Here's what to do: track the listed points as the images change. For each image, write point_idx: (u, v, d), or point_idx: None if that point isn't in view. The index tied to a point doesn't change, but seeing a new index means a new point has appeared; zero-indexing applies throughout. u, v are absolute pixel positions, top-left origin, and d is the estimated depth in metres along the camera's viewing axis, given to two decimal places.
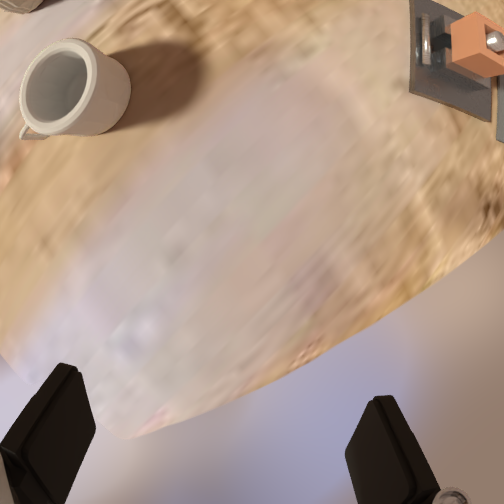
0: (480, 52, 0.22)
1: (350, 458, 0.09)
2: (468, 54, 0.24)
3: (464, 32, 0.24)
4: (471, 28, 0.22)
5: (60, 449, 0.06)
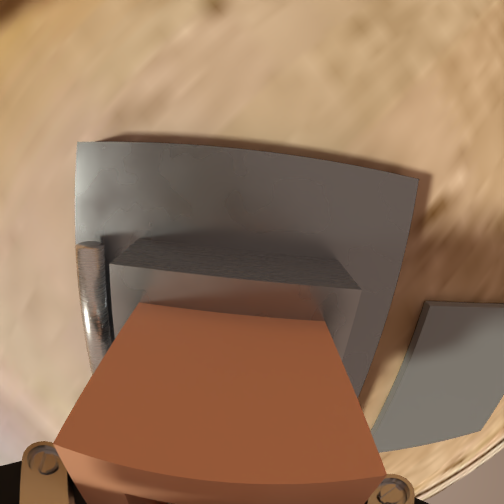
0: None
1: None
2: None
3: None
4: None
5: None
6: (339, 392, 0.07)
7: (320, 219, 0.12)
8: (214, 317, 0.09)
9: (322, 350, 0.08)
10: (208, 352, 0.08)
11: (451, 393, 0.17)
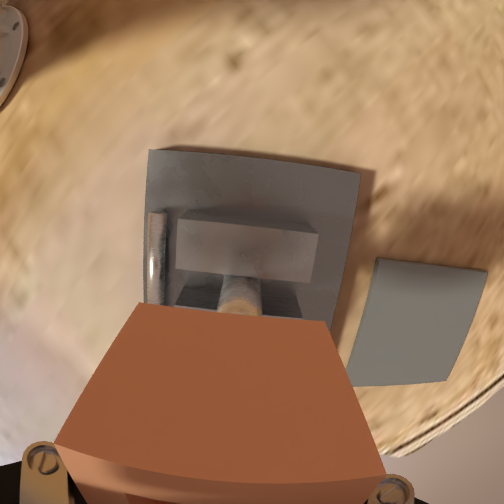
0: None
1: None
2: None
3: None
4: None
5: None
6: (340, 392, 0.07)
7: (298, 198, 0.20)
8: (214, 317, 0.10)
9: (322, 350, 0.08)
10: (208, 352, 0.08)
11: (410, 337, 0.25)
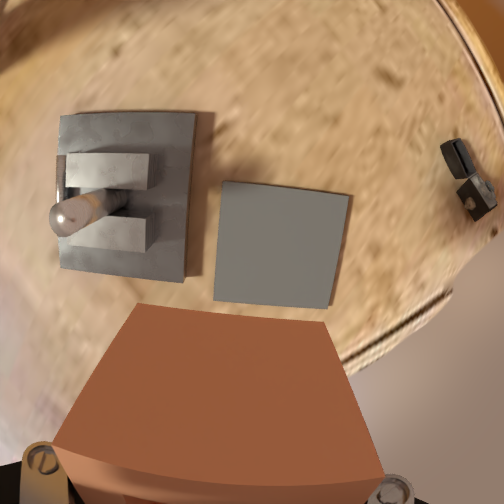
0: None
1: None
2: None
3: None
4: None
5: None
6: (338, 394, 0.07)
7: (149, 136, 0.26)
8: (213, 318, 0.09)
9: (321, 351, 0.08)
10: (206, 353, 0.08)
11: (268, 254, 0.31)
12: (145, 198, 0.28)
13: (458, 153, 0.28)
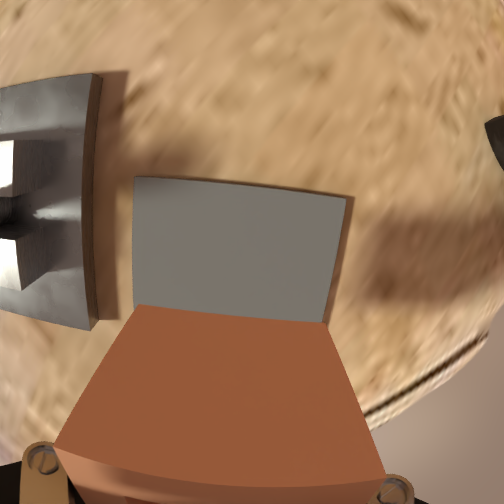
0: None
1: None
2: None
3: None
4: None
5: None
6: (340, 395, 0.07)
7: (34, 116, 0.14)
8: (214, 319, 0.09)
9: (322, 352, 0.08)
10: (208, 354, 0.08)
11: (212, 293, 0.19)
12: (30, 207, 0.16)
13: None
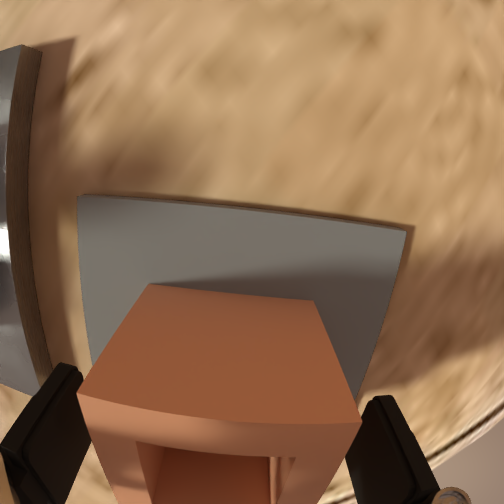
0: None
1: (350, 458, 0.09)
2: None
3: None
4: None
5: (60, 449, 0.06)
6: (323, 356, 0.08)
7: None
8: (215, 295, 0.11)
9: (309, 323, 0.10)
10: (210, 322, 0.09)
11: None
12: None
13: None
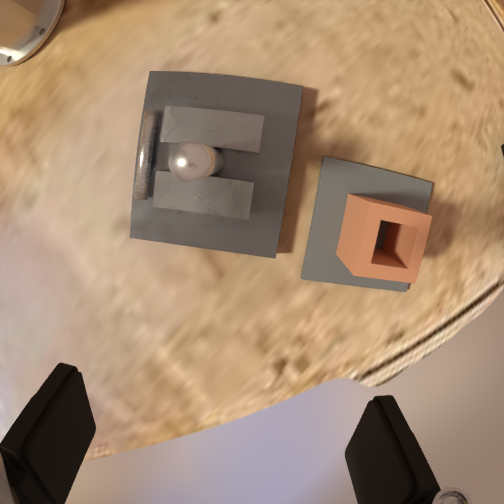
0: (355, 274, 0.25)
1: (350, 458, 0.09)
2: (346, 263, 0.27)
3: (353, 224, 0.26)
4: (359, 226, 0.25)
5: (60, 449, 0.06)
6: (415, 210, 0.26)
7: (254, 102, 0.26)
8: None
9: None
10: (380, 201, 0.27)
11: None
12: (245, 165, 0.27)
13: None
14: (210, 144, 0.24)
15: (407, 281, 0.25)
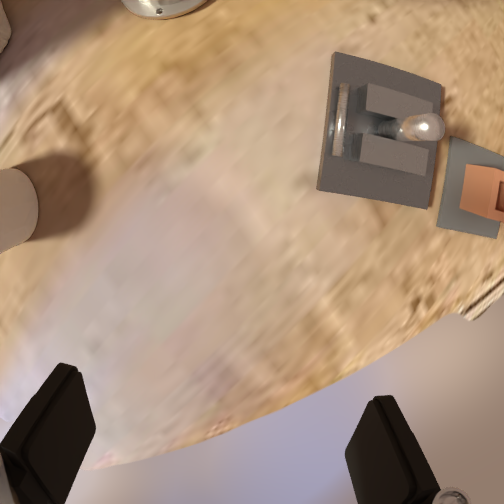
0: (487, 217, 0.29)
1: (350, 458, 0.09)
2: (475, 211, 0.31)
3: (477, 184, 0.31)
4: (485, 184, 0.29)
5: (60, 449, 0.06)
6: None
7: (413, 91, 0.30)
8: None
9: None
10: None
11: None
12: None
13: None
14: (401, 118, 0.28)
15: None
